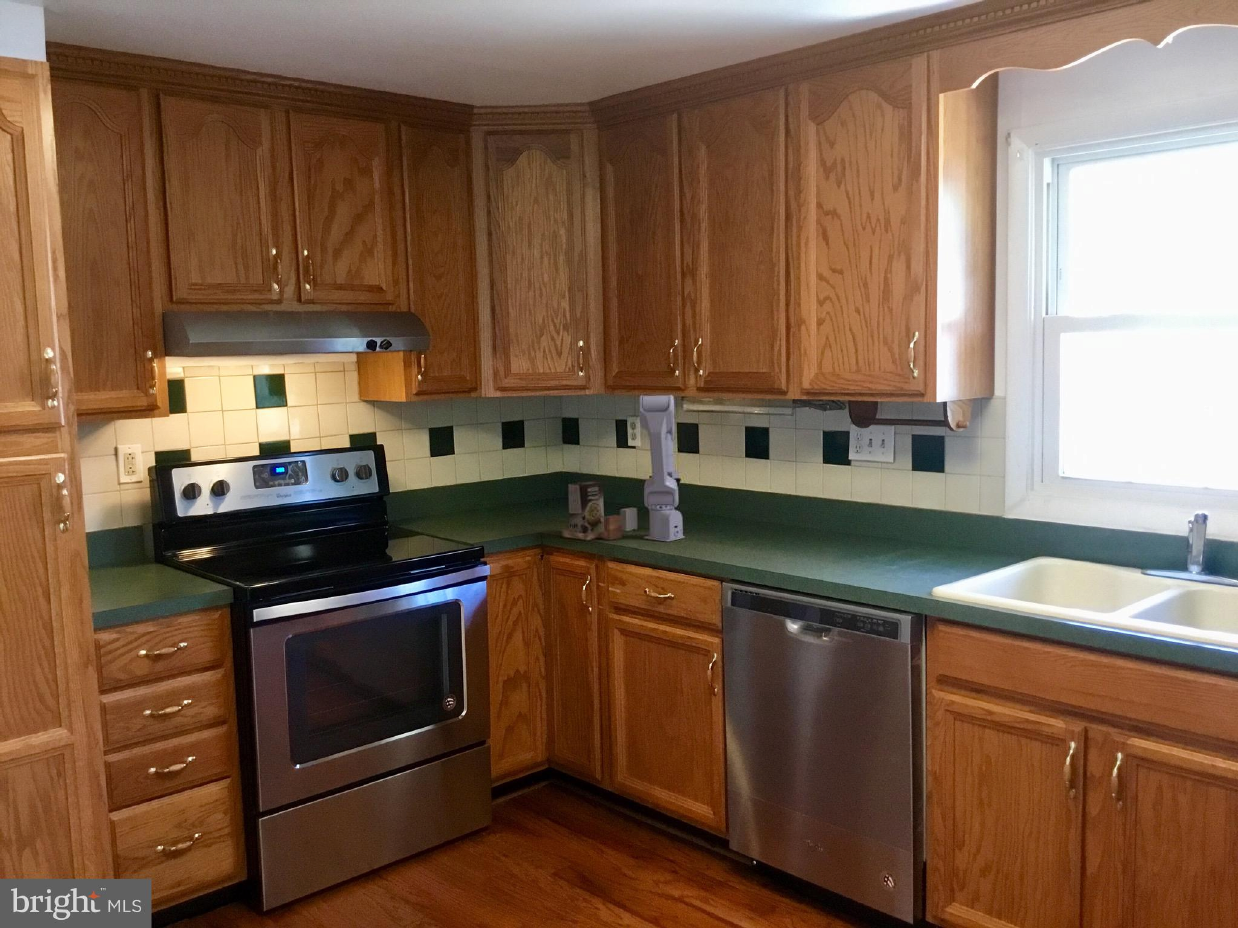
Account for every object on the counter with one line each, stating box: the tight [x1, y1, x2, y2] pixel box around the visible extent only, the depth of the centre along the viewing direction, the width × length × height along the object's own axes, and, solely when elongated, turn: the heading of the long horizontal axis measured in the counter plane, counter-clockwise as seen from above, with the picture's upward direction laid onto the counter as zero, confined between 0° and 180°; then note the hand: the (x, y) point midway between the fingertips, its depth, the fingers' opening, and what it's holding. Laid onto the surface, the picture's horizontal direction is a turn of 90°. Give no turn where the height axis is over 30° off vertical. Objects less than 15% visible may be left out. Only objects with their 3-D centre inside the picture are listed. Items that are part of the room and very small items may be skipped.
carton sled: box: [561, 514, 623, 541], centre depth 328 cm, size 16×13×6 cm
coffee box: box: [567, 481, 605, 534], centre depth 329 cm, size 9×6×16 cm
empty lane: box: [619, 507, 639, 532], centre depth 343 cm, size 16×8×6 cm, turn 46°
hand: (665, 499), depth 336 cm, fingers open, 7 cm apart
